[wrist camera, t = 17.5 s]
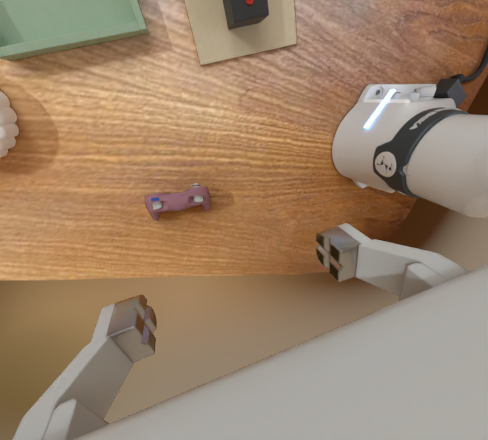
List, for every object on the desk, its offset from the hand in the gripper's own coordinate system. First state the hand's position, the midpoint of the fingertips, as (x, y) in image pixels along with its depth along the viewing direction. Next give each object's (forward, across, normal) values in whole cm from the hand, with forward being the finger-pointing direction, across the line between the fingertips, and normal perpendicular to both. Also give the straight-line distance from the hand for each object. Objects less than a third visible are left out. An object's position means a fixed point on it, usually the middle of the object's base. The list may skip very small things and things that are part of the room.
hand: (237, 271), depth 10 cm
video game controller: (+29, +4, +7) cm, 30 cm away
